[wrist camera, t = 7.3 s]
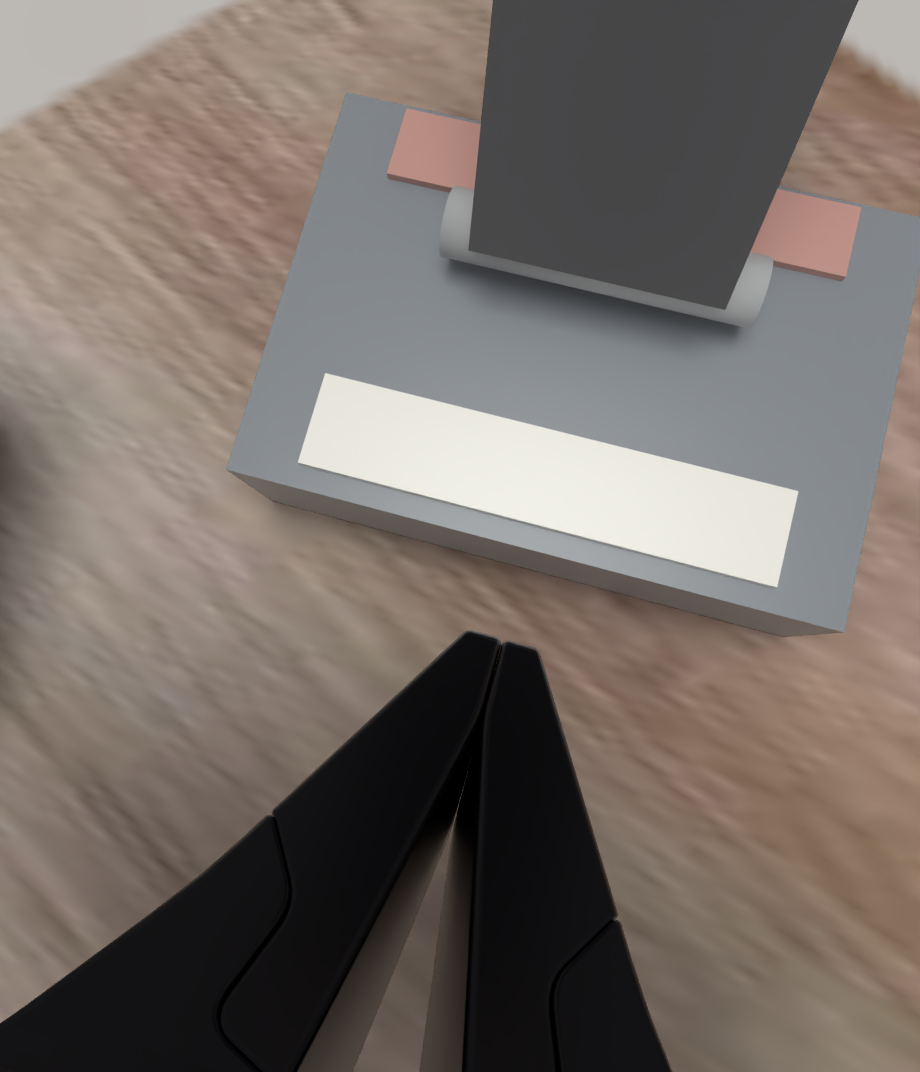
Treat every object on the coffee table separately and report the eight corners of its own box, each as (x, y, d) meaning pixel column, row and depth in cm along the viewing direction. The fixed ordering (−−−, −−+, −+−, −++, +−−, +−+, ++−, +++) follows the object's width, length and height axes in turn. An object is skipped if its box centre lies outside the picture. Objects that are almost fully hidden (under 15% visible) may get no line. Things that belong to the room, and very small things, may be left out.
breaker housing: (783, 636, 19) (848, 632, 16) (272, 500, 21) (222, 467, 17) (858, 292, 21) (935, 214, 17) (370, 182, 22) (344, 86, 18)
